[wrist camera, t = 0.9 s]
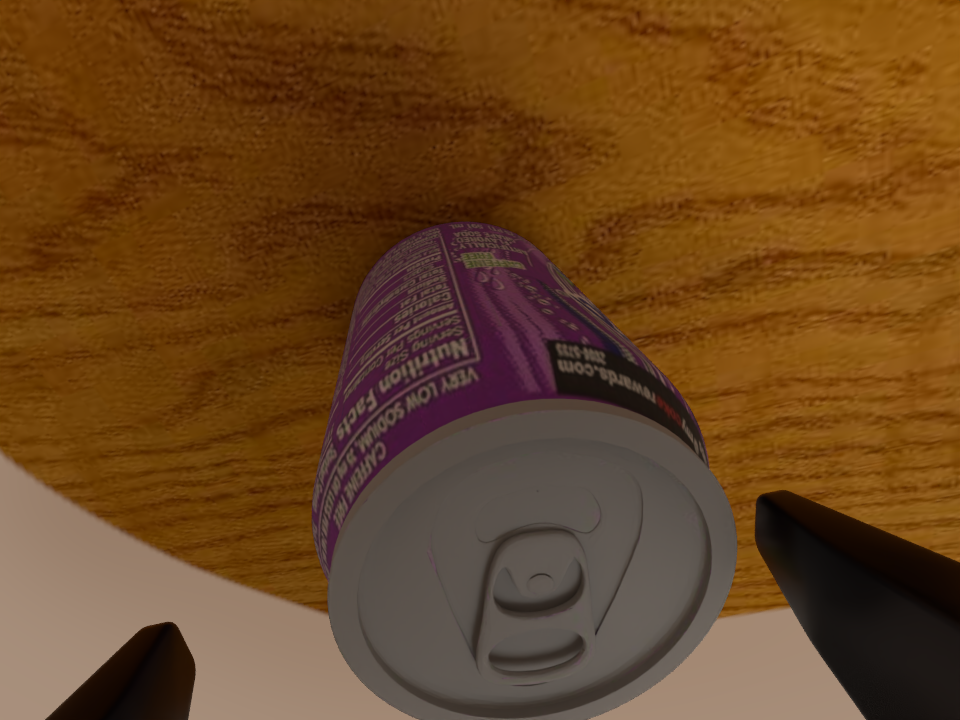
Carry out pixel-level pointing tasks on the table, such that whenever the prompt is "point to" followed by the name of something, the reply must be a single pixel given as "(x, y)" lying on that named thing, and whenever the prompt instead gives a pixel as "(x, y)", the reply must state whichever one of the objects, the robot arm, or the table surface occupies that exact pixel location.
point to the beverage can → (510, 492)
